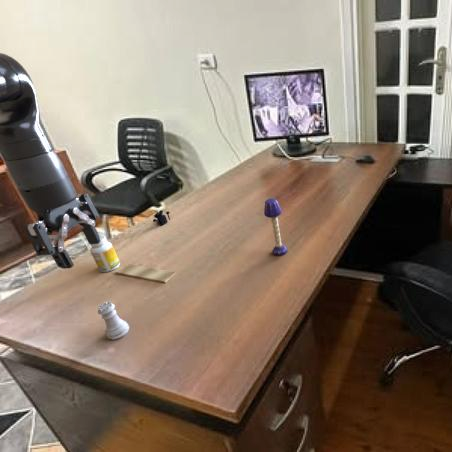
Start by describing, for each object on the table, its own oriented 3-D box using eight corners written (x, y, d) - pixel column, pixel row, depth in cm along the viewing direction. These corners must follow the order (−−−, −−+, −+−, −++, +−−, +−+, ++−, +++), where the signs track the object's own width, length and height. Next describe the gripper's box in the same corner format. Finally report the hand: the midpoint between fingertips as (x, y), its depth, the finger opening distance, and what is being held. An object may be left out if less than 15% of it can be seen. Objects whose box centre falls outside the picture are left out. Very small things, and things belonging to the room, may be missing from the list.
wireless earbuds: (157, 229, 120) (152, 216, 117) (152, 228, 121) (147, 215, 118) (173, 219, 125) (168, 207, 123) (168, 219, 126) (163, 206, 124)
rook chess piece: (115, 343, 75) (100, 315, 71) (103, 336, 77) (88, 309, 73) (134, 329, 78) (120, 301, 74) (122, 323, 80) (108, 296, 76)
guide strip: (115, 273, 98) (115, 271, 98) (127, 265, 101) (126, 263, 101) (165, 283, 92) (164, 281, 92) (176, 274, 95) (175, 272, 95)
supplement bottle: (99, 275, 98) (84, 246, 94) (101, 265, 103) (86, 237, 98) (120, 268, 100) (106, 240, 95) (121, 259, 104) (108, 232, 100)
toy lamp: (291, 250, 101) (282, 197, 93) (281, 258, 98) (271, 205, 89) (279, 246, 103) (269, 195, 95) (268, 254, 100) (257, 202, 92)
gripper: (50, 166, 68) (86, 237, 76) (-14, 197, 56) (37, 278, 64) (87, 163, 68) (120, 235, 76) (31, 193, 55) (76, 275, 63)
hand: (82, 254), depth 70 cm, fingers open, 8 cm apart
